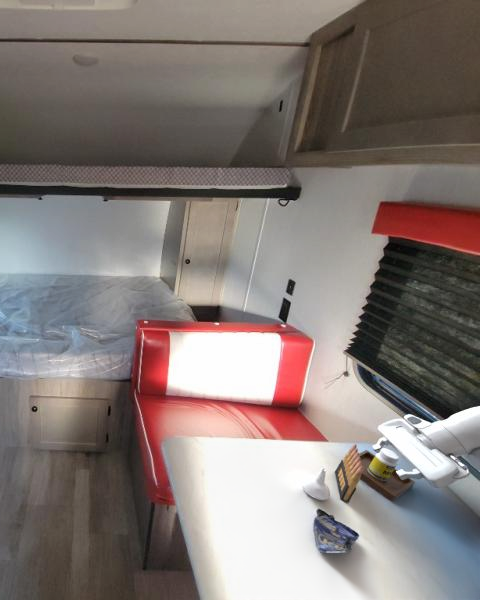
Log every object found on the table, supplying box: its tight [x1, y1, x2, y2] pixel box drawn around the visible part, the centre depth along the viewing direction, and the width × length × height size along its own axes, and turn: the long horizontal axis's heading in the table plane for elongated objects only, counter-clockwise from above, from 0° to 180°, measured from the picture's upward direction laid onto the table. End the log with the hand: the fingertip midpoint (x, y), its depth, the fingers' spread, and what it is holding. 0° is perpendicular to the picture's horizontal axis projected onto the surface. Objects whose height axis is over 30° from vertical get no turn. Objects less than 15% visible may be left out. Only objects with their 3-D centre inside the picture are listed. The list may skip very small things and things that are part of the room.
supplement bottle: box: [368, 447, 400, 481], centre depth 97 cm, size 5×5×8 cm
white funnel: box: [301, 467, 331, 501], centre depth 90 cm, size 6×6×8 cm
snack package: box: [312, 508, 360, 554], centre depth 79 cm, size 12×6×12 cm
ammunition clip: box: [334, 444, 363, 504], centre depth 92 cm, size 11×2×12 cm, turn 151°
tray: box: [358, 449, 416, 502], centre depth 98 cm, size 12×12×2 cm
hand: (385, 462), depth 96 cm, fingers open, 8 cm apart
